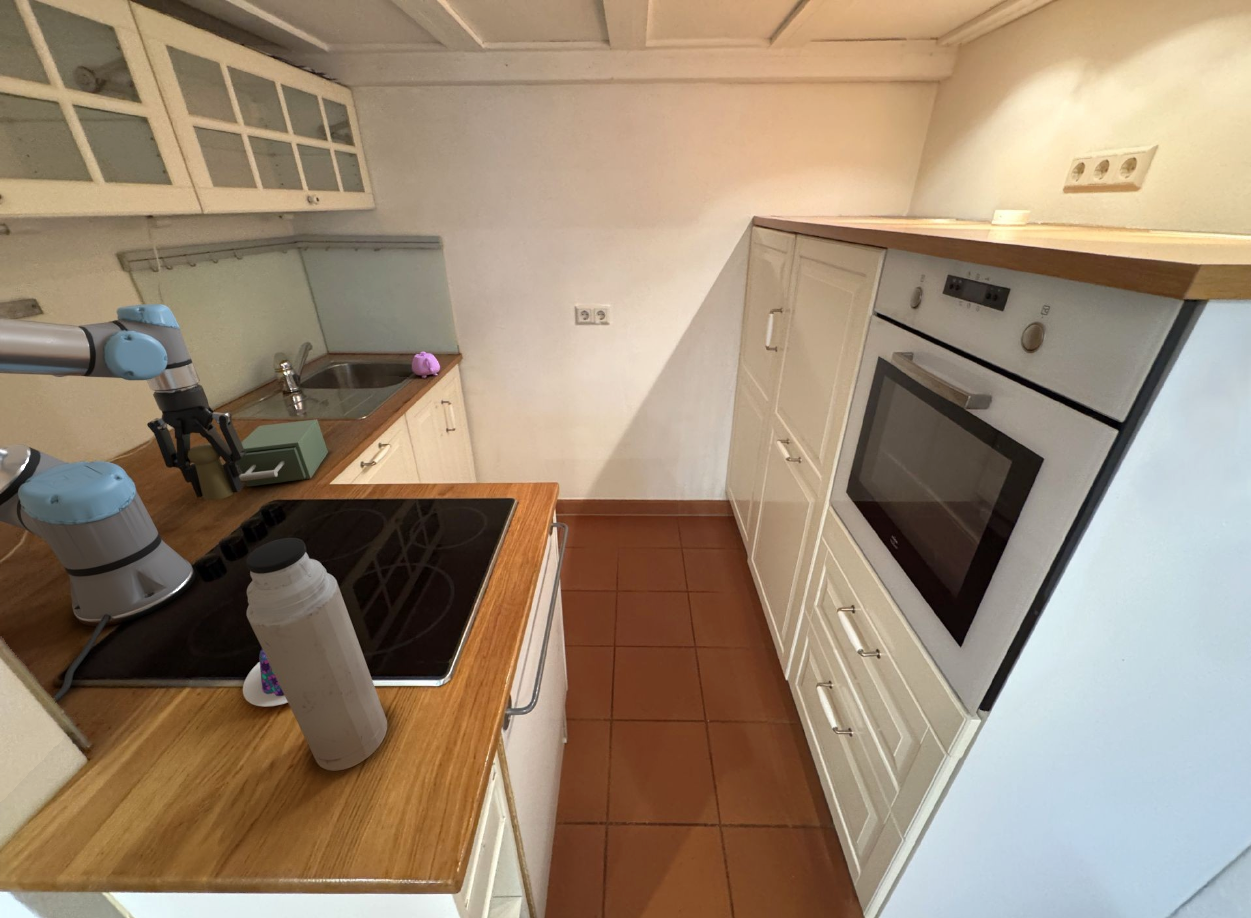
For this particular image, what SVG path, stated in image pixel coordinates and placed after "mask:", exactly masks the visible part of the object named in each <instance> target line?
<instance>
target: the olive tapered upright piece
mask: <svg viewBox="0 0 1251 918" xmlns="http://www.w3.org/2000/svg"><path fill="white" fill-rule="evenodd" d="M188 458H189V460H190V461H191V462H192V463H191V464H195V466H196V470H197V474H198V478H199V482H200V486H201V491H202V495H203V496H202V498H203V500H205V501H216V500H221V499H225V498H228V497H230V496H232V495H234V494H235V493H234V492H233V490H232V488H231V485H230V483H229V480H228V478H227V475H226V473H225V470H224V468H223V465H224V463H223V461H222V459H221V456H220V455H219V454H218V452H217V451H216V450H215V449H214V448H213V446H212V445H211V444H210V443H203V444H202V443H201V444H198V445H195V446H193V447H190V450H189V451H188Z"/></svg>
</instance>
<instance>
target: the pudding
mask: <svg viewBox="0 0 1251 918" xmlns="http://www.w3.org/2000/svg"><path fill="white" fill-rule="evenodd" d="M258 659H259V662H257V663H256V664H255V666H253V668H252V669H251V670H250V671H249V673H248V674H247V676H246V677H245V679H244V682H243V685H242V694H243V697H244V699H245V701H247V702H248V703H249V704H251V705H254V706H257V707H275V706H276V707H277V706H281V705H284V704H287V703H288V701H287V699H286V697H285V695H284V693H283V691H282V689H281V687H280V685H279V683H278V681H277V678H276V676H275V674H274V672H273V670H272V668H271V666H270V664H269V662H268V660H267V657H266V655H265V653H264V651H263V649H262V648H261V650H260V652H259V657H258Z"/></svg>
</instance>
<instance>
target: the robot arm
mask: <svg viewBox="0 0 1251 918" xmlns="http://www.w3.org/2000/svg"><path fill="white" fill-rule="evenodd" d="M116 315H117V317H116V318H117V319H114V320H111V321H105V322H98V323H89V324H81V325H74V324H65V323H56V322H47V321H46V322H45V321H36V320H26V319H17V318H8V317H6V318H5V317H0V374H11V375H12V374H13V375H38V376H39V375H41V376H42V375H43V376H52V377H56V378H63V377H68V376H69V377H86V378H111V379H122V380H125V381H146V383H147V384H148V387H149V390H151V391H153V394H152V396H153V399H154V400H155V403H156V405H157V407H158V409H159V411H161V417H160V418H159V417H156V418H154V419H152V420H151V421H149V422H148V423H147V424H146V426H147V427H148V428H149V430H150V431H151V433H153V434H154V437H155V440H156V442H157V445H158V448H159V451H160V453H161V456H162V459H163V462H164V464H165V466H166V468H168V469H171V468H176V469H179V470H180V472H181V475H182V476H183V479H184V481H185V482H186V483H190V484H191V486H192V488H193V492H194V493H195V496H196V498H203V495H202V491H201V486H200V482H199V478H198V474H197V470H196V466H195V464H194V463H192V462H191V461H190V460H189V458H188V451H189V450H190V449H191V435H192V434H199V435H200V436H201V437H202V438H205V439H206V441H207V442H208V444H211V445H212V446H213V448H214V449H215V450H216V451H217V452H218V454H219V455H220V458H221V459H222V460H223V461H224V462H225V463H223V468H224V470H225V473H226V475H227V478H228V480H229V483H230V485H231V488H232V490H233V492H234V494H238V493H239V492H240V491H241V490H242V489H243V488H244V485H243V483H242V481H241V480H240V478H239V476H240V475H241V473H242V471H241V468H240V466H239V463H238V460H240V459H241V458H242V457H244V456H245V455H246V452H245V450H244V448H243V446H242V443H241V442H242V441H241V439H240V437H239V435H238V433H237V431H236V428H235V426H234V425H233V418H232V417H233V416H232V413H231V412H230V411H225V412H216V411H215V410H214V409H213V408H211V406H210V404H209V399H208V396H207V395H206V392H205V390H204V387H203V385H201V384H200V381H201V380H200V377H199V375H198V373H197V370H196V368H195V365H194V362H193V360H192V358H191V355H190V353H189V349H188V348H187V345H186V342H185V339H184V336H183V334H182V332H181V326H179V323H178V321H177V319H176V317H175V315H174V314H173V312H172V309H171V308H170V307H169V306H167V305H165V304H161V303H143V304H142V303H141V304H134V305H127V306H121V307H118V308H117V309H116ZM213 420H215V422H216V424H218V425H219V430H220V431H221V433H222V435H223V437H222V435H220V433H219V432H218V431H217V427H216V426H215V425H214V424H213V423H212V422H213ZM168 426H169V427H171V428H172V429H173V430H174V439H176V440H175V442H176V447H175V444H174V441H173V438H172V435H171V432H170V430H169V428H168ZM0 522H2V523H5V524H8V525H12V526H14V527H18V528H20V529H22V530H24V531H27V532H28V533H29V532H30V533H31V534H33V535H35V536H37V537H39V538H41V539H43V540H44V541H45V542H46V543H47V544H48V546H49V547H50V549H51V550H52V552H53V553H54V555H55V557H56V558H57V559H58V561H59V562H60V564H61V565H62V567H63V569H64V570H65V571H66V573H67V575H68V576H69V582H70V583H69V584H70V595H71V603H72V604H71V607H72V611H73V614H74V616H75V617H76V619H77V620H78V622H79V623H81V624H82V625H84V626H88V627H95V629H94V631H93V632H92V633H91V635H90V637H89V638H88V640H87V642H86V644H85V645H84V647H83V648H82V650H81V652H80V653H79V654H78V656H77V657H76V658H75V659H74V661H73V662H72V663H71V664H70V666H69V667H68V669H67V671H66V673H65V675H64V679H63V684H62V686H61V688H60V689H59V690H58V691H57V692H56V693H55V694H54V695H53V696H52V697H53V698H55V700H56V702H55V703H57V702H58V701H59V700H61V698H63V697H64V695H66V693H67V692H68V691H69V689H70V688H71V686H72V683H73V679H74V678H73V677H74V674H75V672H76V670H77V668H78V667H79V666H80V665H81V663H82V662H83V661H84V660H85V658H86V657H87V655H88V654H89V653H90V651H91V650H92V647H93V646H94V644H95V643H96V641H97V639H98V637H99V636H100V635H101V632H102V631H103V629H104V627H108V626H113V625H118V624H122V623H125V622H130V621H133V620H135V619H139V618H141V617H143V616H146V615H148V614H150V613H153V612H154V611H158V610H159V609H160V608H163V607H164V606H166V605H168V604H169V603H171V602H172V601H174V600H176V599H177V598H179V597H180V596H181V595H182V594H183V593H185V592H186V591H187V590H188V589H189V588H190V587H191V585H192V584H193V582H194V581H195V579H196V572H195V570H194V568H193V566H192V564H191V563H190V562H189V561H188V560H187V559H186V558H184V557H182V556H181V555H180V554H179V553H178V552H176V550H174V549H173V548H172V547H171V546H170V545H168V544H167V543H166V542H165V541H164V540H163V538H162V537H161V535H160V532H159V531H158V529H157V527H156V524H155V523H154V522H153V519H152V518H151V516H150V514H149V512H148V510H147V508H146V506H145V504H144V502H143V501H142V499H141V496H140V495H139V493H138V490H137V488H136V484H135V482H134V481H133V479H132V478H131V477H130V476H129V475H128V474H127V472H126V471H125V469H124V468H123V467H121V466H120V465H118V464H115V463H113V462H109V461H103V460H92V461H90V462H89V461H86V460H85V461H76V462H69V461H68V462H67V461H65V460H62V459H61V458H60V459H59V458H57V457H55V456H53V455H50V454H48V453H45V452H43V451H41V450H38V449H36V448H34V447H31V446H28V445H26V444H20V443H19V444H18V443H17V444H12V445H5V446H3V445H0Z"/></svg>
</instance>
